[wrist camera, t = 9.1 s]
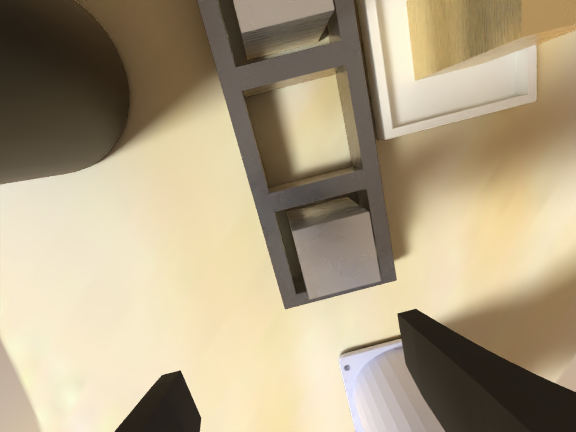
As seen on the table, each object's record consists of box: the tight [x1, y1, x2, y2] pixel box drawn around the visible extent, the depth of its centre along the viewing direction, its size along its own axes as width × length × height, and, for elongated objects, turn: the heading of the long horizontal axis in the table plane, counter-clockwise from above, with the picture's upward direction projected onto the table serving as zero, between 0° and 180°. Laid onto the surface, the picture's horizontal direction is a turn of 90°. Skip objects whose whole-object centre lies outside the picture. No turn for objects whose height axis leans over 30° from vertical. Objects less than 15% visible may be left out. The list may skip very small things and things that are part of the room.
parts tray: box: [356, 0, 537, 140], centre depth 15 cm, size 9×9×1 cm
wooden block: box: [406, 0, 576, 81], centre depth 12 cm, size 4×4×7 cm
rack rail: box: [197, 0, 397, 309], centre depth 15 cm, size 20×7×4 cm, turn 14°
